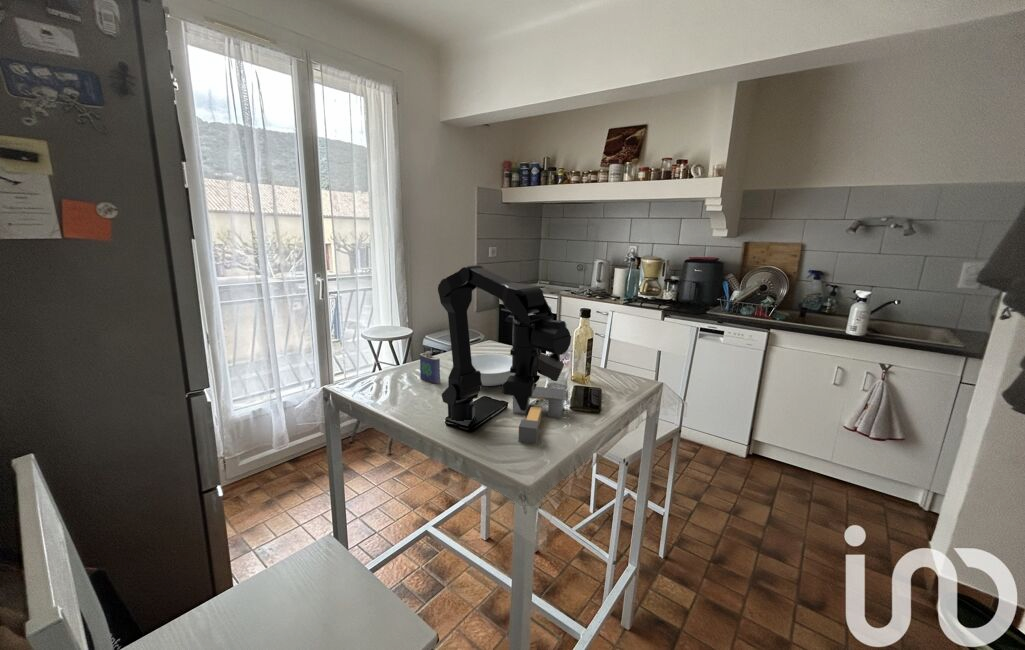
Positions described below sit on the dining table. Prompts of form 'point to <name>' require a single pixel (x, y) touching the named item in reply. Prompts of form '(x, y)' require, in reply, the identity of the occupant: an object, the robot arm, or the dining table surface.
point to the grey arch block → (544, 393)
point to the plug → (530, 426)
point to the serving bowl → (492, 368)
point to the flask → (429, 368)
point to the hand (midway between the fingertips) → (523, 408)
